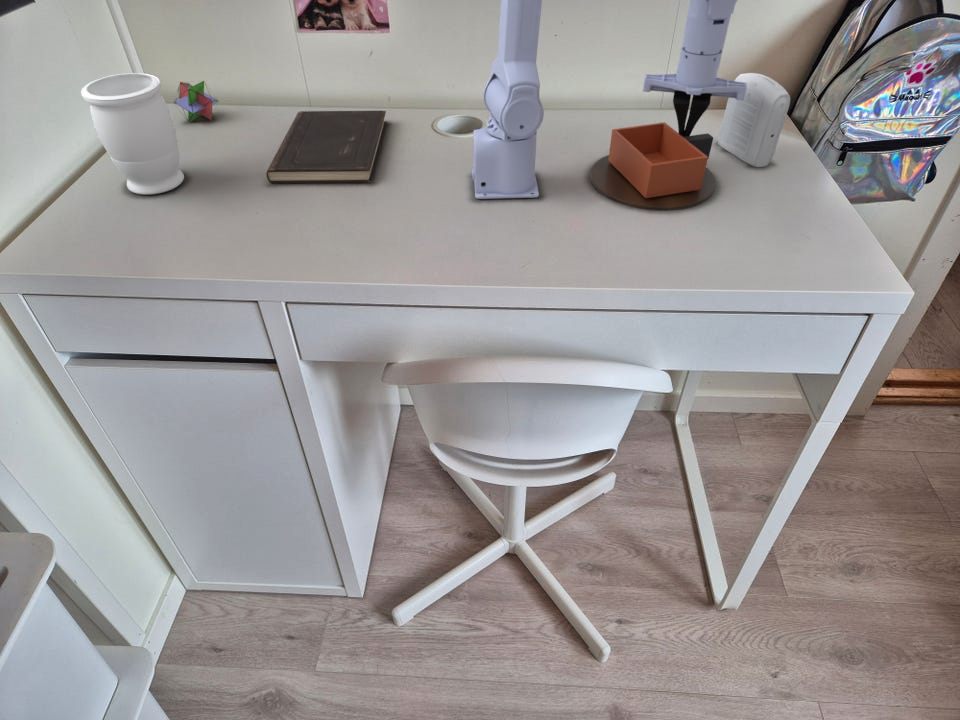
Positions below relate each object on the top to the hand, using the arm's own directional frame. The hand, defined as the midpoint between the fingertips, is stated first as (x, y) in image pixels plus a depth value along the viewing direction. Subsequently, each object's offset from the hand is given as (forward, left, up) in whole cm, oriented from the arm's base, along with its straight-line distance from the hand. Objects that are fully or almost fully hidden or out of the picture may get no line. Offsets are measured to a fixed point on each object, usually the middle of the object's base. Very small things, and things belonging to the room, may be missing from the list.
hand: (682, 140), depth 102 cm
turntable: (-5, -5, -4) cm, 8 cm away
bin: (-3, -4, -3) cm, 6 cm away
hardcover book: (-56, +8, -4) cm, 57 cm away
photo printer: (+12, +3, -4) cm, 13 cm away
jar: (-82, -2, -4) cm, 83 cm away
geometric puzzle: (-82, +23, -4) cm, 86 cm away
